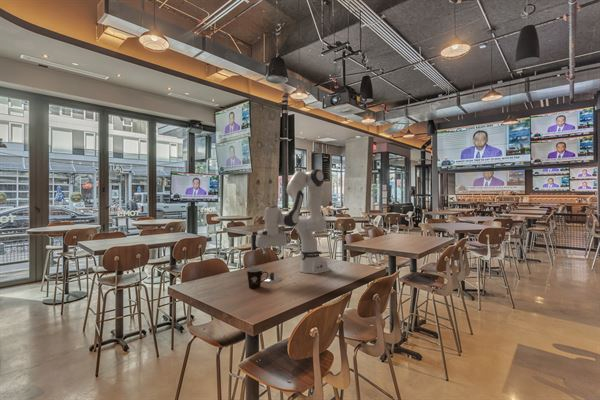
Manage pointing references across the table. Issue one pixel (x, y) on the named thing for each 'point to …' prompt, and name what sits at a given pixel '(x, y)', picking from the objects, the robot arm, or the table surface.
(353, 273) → the table surface
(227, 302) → the table surface
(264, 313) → the table surface
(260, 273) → the coffee mug
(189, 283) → the table surface
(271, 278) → the lid
